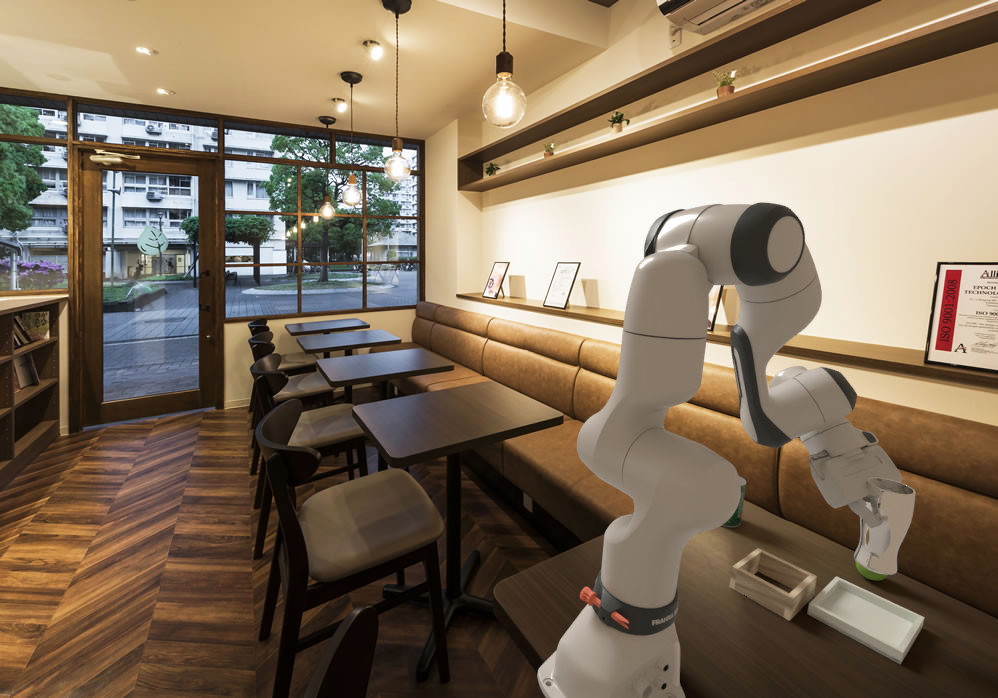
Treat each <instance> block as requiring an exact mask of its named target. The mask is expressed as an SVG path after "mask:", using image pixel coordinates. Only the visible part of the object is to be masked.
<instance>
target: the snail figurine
mask: <svg viewBox="0 0 998 698" xmlns="http://www.w3.org/2000/svg"><path fill="white" fill-rule="evenodd" d="M855 567H856V569H857V571H858V572H859V574H861V575H862V576H863V577H864V578H866V579H867V580H871V581H877V582H879V581H882V580H884V579H886V578H887V577H888V575H885V574H880V573H876V572H873V571H871V570H868V569H866V568H864V567H863V566H861V565H860V564H858V563H857V562H856V561H855Z"/></svg>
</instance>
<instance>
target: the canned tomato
mask: <svg viewBox="0 0 998 698" xmlns="http://www.w3.org/2000/svg"><path fill="white" fill-rule="evenodd" d="M738 476H739V480H740V486H741V495H740V500H739V504H738V507H737V509H736V511H735V512H734V514H733V515H732V517H731V518H730V519H729V520H728V521H727V522H726V523H724V524H723V525H721V526H720V527H724V528H738V527H739V526H741V524H742V517H743V508H744V503H745V502H744V501H745V497H746V496H745V494H746V487H747V481H746V479H745V478H744V477H742V476H740V475H738Z"/></svg>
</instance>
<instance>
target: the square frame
mask: <svg viewBox="0 0 998 698" xmlns="http://www.w3.org/2000/svg"><path fill="white" fill-rule="evenodd" d="M757 573H760V574H762V575H764V576H765V577H768V578H770V579H772V580H774V581H775V582H778V583H779V584H782V585H783V586H786V587H787V588H789V589H791V591H790V592H787V591H785V590H784V589H782V588H780V587H778V586H776V585H775V584H772V583H770V582H769V581H766V580H764V579H762V578H761V577H759V576H757V575H755V574H757ZM817 579H818V576H817V575H816V574H813V573H812V572H810V571H807V570H806V569H803V568H801V567H799V566H796V565H794V564H793V563H791V562H789V561H786V560H785V559H783V558H780V557H778V556H776V555H774V554H772V553H769V552H767V551H766V550H764V549H761V548H759V547H758V548H756V549H754V550H753V551H751V552H750V553H749V554H748V555H746V556H745V557H744V558H742V559H740V560H739V561H738V562H736V563H735V564H733V565H732V566H731V572H730V579H729V588H730V589H732V590H734V591H736V592H737V593H738V594H741V595H742V596H744V595H745V596H744V597H746V596H747V597H746V598H748V599H749V600H751V601H753V602H755V603H757V604H759V605H760V606H762V607H764V608H766V609H768V610H769V611H771V612H773V613H775V614H776V615H778V616H780V617H782V618H783V619H785V620H787V621H789V622H790V621H791V620H792V619H793V618H794V617H795V616H796V615H797V614H798V613H799V612H800V611H801V610H802V609H803V608H804V607H805V606H806V605H807V604H809V603H810V602H811V601H812V600H813V599H814V596H815V592H816V586H817V585H816V584H817Z"/></svg>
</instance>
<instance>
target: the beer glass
mask: <svg viewBox="0 0 998 698" xmlns="http://www.w3.org/2000/svg"><path fill="white" fill-rule="evenodd" d="M870 479H876V480H878V481H880V482H881V483H883V484H884V485H885V487H886V488H885V489H881V488H878V487H876V486H874V485H873V484H871V483H870V481H869V480H870ZM870 479H867V484H868V488H869V491H870V495H869V496H866V497H864V498H863V499H864V501H865V502H866V504H867V505H865V506H866V507H867V508H868V509H869V510H870V511H871V512H873V513H874V514H877V515H878V516H879V518H880V519H881V520H882V524H881V525H880V526H877V527H874V528H869V527H868V526H867V524H866V523H865V521H864V520H863V518H861V517H860V516H859V524H860V536H859V543H858V546H857V548H856V549H855V552H854V554H853V559H854V560H855V563H856V562H857V563H858V564H860V565H861V566H863V567H864V568H866V569H868V570H871V571H873V572H876V573H880V574H885V575H887V576H889V575H890V576H891V575H895V574H896V573H897V572H898V553H899V550H900V547H901V545H902V543H903V541H904V539H905V537H906V535H907V533H908V530H909V529H910V525H911V524H912V519H913V516H914V509H915V503H916V493H917V492H916V490H915V488H913V487H911V486H910V485H907V484H906V483H904V482H898V481H895V480H891V479H887V478H880V477H872V478H870Z"/></svg>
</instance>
